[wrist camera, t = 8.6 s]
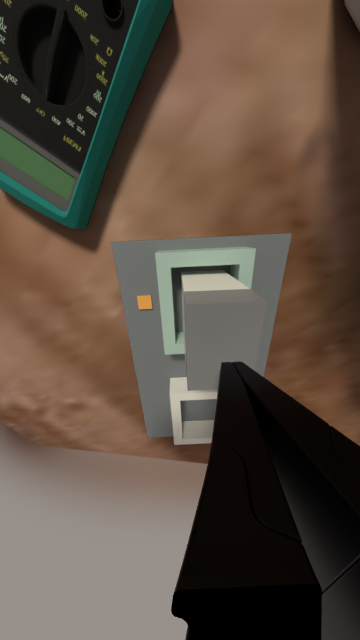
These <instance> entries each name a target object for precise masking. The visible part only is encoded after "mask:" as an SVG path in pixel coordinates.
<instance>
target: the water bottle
mask: <svg viewBox="0 0 360 640" xmlns="http://www.w3.org/2000/svg"><path fill="white" fill-rule="evenodd" d="M345 6H346V8H347V10H348V12H349V13H350V15H351V17H352V19H353V21H354V22H355V24H356V26H357V28H358V30H359V31H360V0H345Z"/></svg>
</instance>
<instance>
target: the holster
mask: <svg viewBox="0 0 360 640" xmlns="http://www.w3.org/2000/svg"><path fill="white" fill-rule="evenodd" d="M217 393H218V390H193V391H188V390H187V377H182V378H170V404H171V415H172V426H173V436H174V445H182V444H203V443H211V441H212V433H213V426H214V420H202V421H182V415H181V401H184V400H205V399H217Z"/></svg>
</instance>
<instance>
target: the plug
mask: <svg viewBox="0 0 360 640" xmlns="http://www.w3.org/2000/svg"><path fill="white" fill-rule="evenodd" d="M181 286H182V317H183V335H184V349H185V362H186V376H187V390H188V391H193V390H218V385H219V376H220V368H221V363H222V362H231V363H232V362H236V361H241V362H243V363H245V364H246V365H247V366H249V367H250V368H252V369H253V370H254V371H255V366H256V360H257V354H258V349H259V343H260V337H261V332H262V326H263V320H264V315H265V309H266V303H267V301H266V300H265V299H263V298H262V297H260V296H259V295H257V294H256V293H255V292H253V291H252V290H250V289H249V288H248V287H246V286H245V285H243V284H242V283H241V282H239V281H238V280H236V279H235V278H234V277H232V276H231V275H229V274H228V273H226V272H225V271H224V270H211V271H186V272H181Z"/></svg>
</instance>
